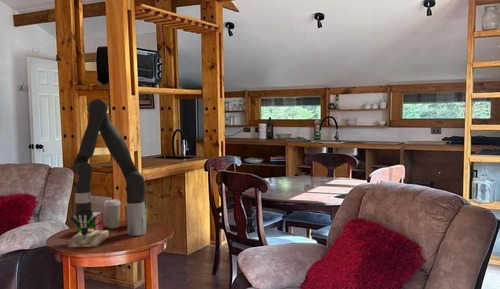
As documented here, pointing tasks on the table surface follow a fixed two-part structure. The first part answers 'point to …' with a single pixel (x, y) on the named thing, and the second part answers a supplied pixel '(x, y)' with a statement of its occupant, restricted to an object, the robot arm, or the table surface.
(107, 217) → the coffee cup
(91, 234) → the button panel
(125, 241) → the table surface
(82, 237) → the slate grey button
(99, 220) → the puzzle cube
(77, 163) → the robot arm
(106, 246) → the table surface
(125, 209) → the chalk box
